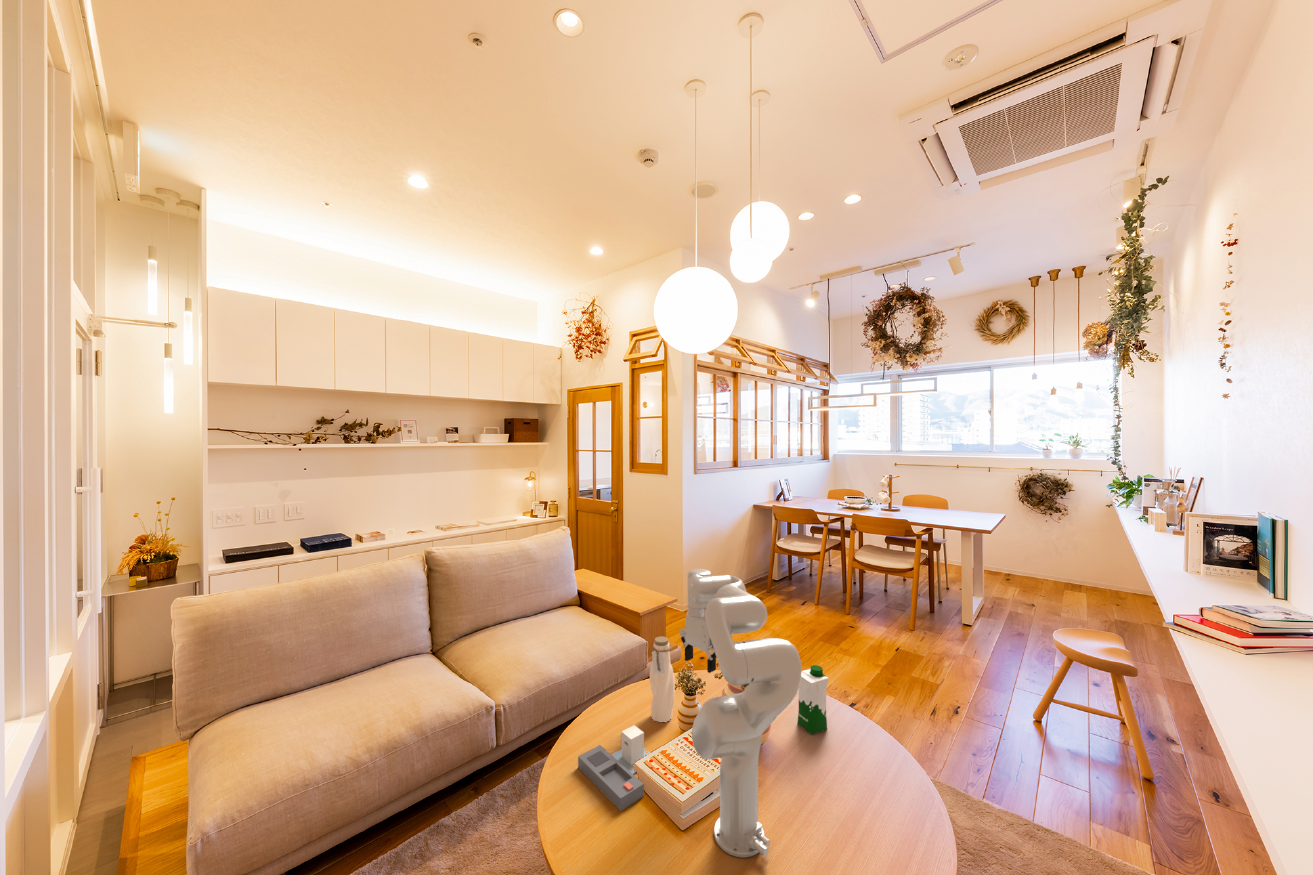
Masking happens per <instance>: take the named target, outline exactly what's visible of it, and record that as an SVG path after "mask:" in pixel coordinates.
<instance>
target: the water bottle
mask: <svg viewBox="0 0 1313 875" xmlns="http://www.w3.org/2000/svg"><path fill="white" fill-rule="evenodd" d="M672 648H673V647H672V645H671V643H670V641H669V637H667V636H663V635H661V636H657V637H655V638H654V643H653V645H652V647H651V649H652V650H653V651H651V656H652V657H651V658H652V659H651V660H652V662H651V664H650V668H649V684H650V690H651V693H652V700H651V707H650V709H651V710H650V712H651V713H650V718H651V717H652V718H651V719H654V720H655V721H659V722H660V721H661V722H664V721H669V720H670V719H671V720H672V719H673V717H672V716H673V708H674V703H675V688H676V686H675V674H674V668H673V666H672V663H671V653H670V651H671V650H672ZM654 720H653V721H654ZM671 720H670V721H671ZM655 721H654V722H655ZM670 721H669V722H670Z"/></svg>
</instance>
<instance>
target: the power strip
mask: <svg viewBox="0 0 1313 875" xmlns="http://www.w3.org/2000/svg"><path fill="white" fill-rule="evenodd" d="M577 765H578V766H577V768H578V769H579V770H580V771H581V772H582V774H584V775H585V777H587V779H589V780H590V781H591V782H592V784H594V785H595V787H596V788H598V790H599V791H601V793H602V794H603V795H604V796H605V797H606V798H607V799H608V800H609V801H610V802H611V803H612V804H613V805H614V807H616V808H617V809H618V810H619V811H620V812H623V810H625V809H627V808H628V807H630V806H631V805H633V804H634V803H636V802H637V801H638V800H641V798H644V797H645V794H644V793H645V792H644V791H645V790H644V789H645V787H644V786H645V784H644V782H642V781H641V780H640V779H639V778H638V777H637V776H635V774H634V775H633V774H632V773H631V772H630V771H629V770H628V769H626V768H625V767H624V766H623V765H622V764H621V763H620V762H619V761H618V760H616V759H615V758H614V757H613V756H612V753H610V752H608V750H606V749H605V747H604V746H602V745H601V744H598V745H597V746H595V747H593V748H591V749H589V750H588V751H586V752H583V753H581V754H580V755H578V756H577Z"/></svg>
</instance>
